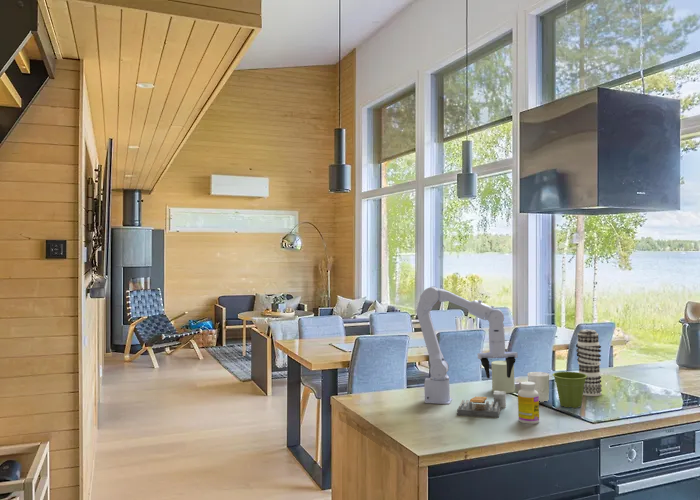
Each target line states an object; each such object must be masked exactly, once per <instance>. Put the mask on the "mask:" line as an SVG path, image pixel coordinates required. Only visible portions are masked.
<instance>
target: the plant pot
mask: <svg viewBox="0 0 700 500" xmlns="http://www.w3.org/2000/svg"><path fill="white" fill-rule="evenodd" d="M552 376H553V377H554V382H555V386H556V390H557V394H558V396H557V397H558V399H559V400H558V401H559V405H560V406H561V407H563V406H564V407H565V408H567V407H568V408H572V409H573V408H574V409H577V408H578V409H579V408H580V407H581V406H582V405H583V404H582V403H583V396H584V395H583V390H584V384H585V380H586V378H587V375H586V374H582V373H579V372H576V371H556V372H553V373H552Z"/></svg>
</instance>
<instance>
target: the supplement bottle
mask: <svg viewBox="0 0 700 500" xmlns="http://www.w3.org/2000/svg"><path fill="white" fill-rule="evenodd" d="M517 405H518V406H517V409H518V411H517V413H518V416H517V417H518V421H519V422H520V423H522V424H527V425H535V424H539V422H540V402H539V394H538V392H537V391H536V390H535V383H534V382H528V381H521V382H520V389H519V390H518V392H517Z"/></svg>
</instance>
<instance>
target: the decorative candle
mask: <svg viewBox="0 0 700 500" xmlns="http://www.w3.org/2000/svg"><path fill="white" fill-rule="evenodd" d="M576 334H577V342H576V344H575V348H577V349H575V350H576V356H577V359H576V360H577V364H578V373H582V374H586V375H587V378H586V380H585V384H584V390H583V396H585V397H586V396H587V397H588V396H589V397H599V396H602V395H603V394H602V393H603V392H602V391H603V389H602V384H601V383H602V380H601V379H602V376H601V371H600V368H601V367H600V366H601V364H602V363H601V361H602V359H601V357H602V355H601V354H600V353H601V352H602V349H601V348H602V345H600V341H599V338H600V337H599V333H598V331H596V330H595V329H585V328H584V329H580V330H579V331H578V332H577V333H576Z"/></svg>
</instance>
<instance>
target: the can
mask: <svg viewBox="0 0 700 500" xmlns="http://www.w3.org/2000/svg"><path fill="white" fill-rule="evenodd" d="M490 364H491V384H492V387H491V390H492V392H493V393H494V391H506V394H513V393H515V392H516V388H515V387H516V386H515V364H514V365H513V368H512V371H511V376H510V378H508V377H507V364H506V360H493V361H491V363H490ZM512 392H513V393H512Z"/></svg>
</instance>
